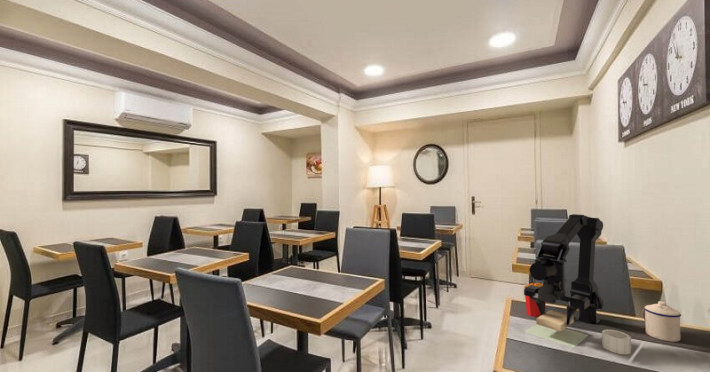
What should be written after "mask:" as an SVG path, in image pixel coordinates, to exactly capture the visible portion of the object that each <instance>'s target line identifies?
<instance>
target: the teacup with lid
mask: <svg viewBox="0 0 710 372" xmlns="http://www.w3.org/2000/svg"><path fill="white" fill-rule="evenodd" d="M641 316H642V318H643V320H644V322H645V324H644V325H645V333H646V335H648V336H650V337H651V338H655V339H657V340H660V341H665V342H672V343H676V342H679V341H681V316H682V313H681V312H680V311H679V310H677V309H675V308H673V307H671V306H669V305H667V303H666V302H665V301H661V300H659V301H658V302H657V303H653V304H647V305H644V307H643V308H642V310H641Z"/></svg>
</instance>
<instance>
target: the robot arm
mask: <svg viewBox="0 0 710 372" xmlns="http://www.w3.org/2000/svg"><path fill="white" fill-rule="evenodd" d="M602 230H604V222H603V221H602V220H601V218H599V217H591V216H587V215H584V214H577V213H575V214H574V213H572V214H569V216H568V217H567V220H566V221H565V222H564V223H563V224H562V226H561V227H560V228H559V229H558V230H557V232H556V233H555V234H551V235H548V236H547V237H545V238H544V239H543V241H541V243H540V245H539V248H538V250H537V254H536V256H535V262H534V263H532V264H531V265H530V267H529V270H528V271H529V274H530V276H531V277H532V278H533V279H534V280H536V281H538V282H540V281H543V283H542V284H543V286H541V287H538V286H534V285H535V284H534V285H530V286H528V285H527V286H528V287H526V288H524V289H523V295H524V296H525V295H526V296H530V299H533V300H534V301H535V302H536V304H537V306H538V308H539V311H540V314H541V315H543V314H545V313H546V306H545V301H546V303H549V304H554V303H556V301H562V302H566V303H568V305H567V306H566V310H567V312H566V314H567V325H569V324H570V322H571V320H572V318H573V316H574V315H575V313H576V312H577V311H578V312H577V313H578V314H577V317H574V321H575V320H576V321H579V322H582V323H586V324H591V325H597V324H599V323H600V322H601V320H600V319H598V316H597V312H598V311H597V310H602V309H603V307H604V300H603V299H602V296H601V295H600V293H599V286H598V284H596V282H595V281H594V275H595V272H594V270H595V256H596V255H595V254H596V242H597V240H598V239H599V238H600V237H601V236H602ZM576 235H577V237H578V239H579V251H578V264H577V265H578V267H577V278H575V280H572V281H571V282H570V284H571V285H570V291H569V294H570V296H569V295H566V294H567V291H566V288H565V287H566V286H565V285H566V281H567V279H566V276H565V263H567V262H568V260H567V259H566V257H567V255H568V254H569V252H570V245H569V244H570V243H571V241H572V240H573V239H574V238H575V237H576ZM570 325H571V324H570ZM570 325H569V326H570Z"/></svg>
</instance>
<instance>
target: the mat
mask: <svg viewBox="0 0 710 372" xmlns="http://www.w3.org/2000/svg"><path fill="white" fill-rule="evenodd" d="M523 332H524V333H527V334H530V335H533V336H536V337H539V338H542V339H545V340H547V341H551V342H554V343H556V344H559V345H563V346H566V347H568V348H571V349H574V348H575V347H576V346H578V345H579V344H580V343H581V342H583V341H584V340H585V339H586V338H587V337H588V336H589V335H588V334H587V333H586V334H585V333H582V332H579V331H576V330H572V329H569V328H567V327H566V328H565V329H564V330H562V331H561V332H560V331H557V330H554V329H551V328H547V327H544V326H541V325H538V324H534V325H532V326H531V327H529V328H528V329H526V330H524V331H523Z"/></svg>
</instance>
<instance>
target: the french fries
mask: <svg viewBox="0 0 710 372" xmlns="http://www.w3.org/2000/svg"><path fill="white" fill-rule="evenodd" d="M530 285H534V286H538V287H541V286H543V283H541V282H534V283H533V282H531V283H528V284H526V285H524V286H523V287H524V288H526V287H528V286H530ZM524 297H525V308H526V315H527V316H529V317H534V318H538V317H540V316H541V314H540V311H539V308H538V306H537V304H536V302H535V301H534V300H533V299H530V296H526V295H524ZM546 304H547V302H546V301H545V307H546Z"/></svg>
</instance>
